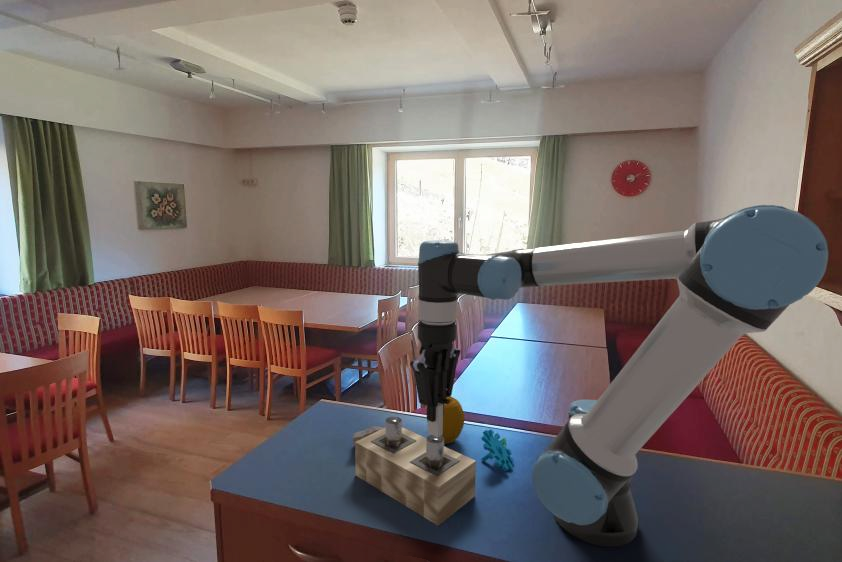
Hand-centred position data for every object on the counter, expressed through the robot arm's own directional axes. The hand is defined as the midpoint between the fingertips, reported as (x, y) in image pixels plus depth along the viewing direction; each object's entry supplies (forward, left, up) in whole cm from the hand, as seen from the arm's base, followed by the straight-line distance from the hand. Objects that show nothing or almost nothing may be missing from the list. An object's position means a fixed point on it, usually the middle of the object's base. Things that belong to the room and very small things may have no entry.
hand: (435, 433), depth 90 cm
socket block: (+6, 0, -14) cm, 15 cm away
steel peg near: (0, 0, -9) cm, 9 cm away
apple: (+13, -20, -14) cm, 28 cm away
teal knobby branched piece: (-3, -20, -14) cm, 25 cm away
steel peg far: (+12, 0, -9) cm, 15 cm away
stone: (+23, -4, -15) cm, 28 cm away
